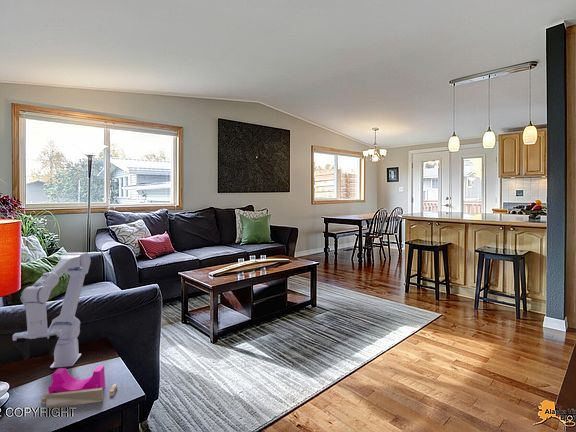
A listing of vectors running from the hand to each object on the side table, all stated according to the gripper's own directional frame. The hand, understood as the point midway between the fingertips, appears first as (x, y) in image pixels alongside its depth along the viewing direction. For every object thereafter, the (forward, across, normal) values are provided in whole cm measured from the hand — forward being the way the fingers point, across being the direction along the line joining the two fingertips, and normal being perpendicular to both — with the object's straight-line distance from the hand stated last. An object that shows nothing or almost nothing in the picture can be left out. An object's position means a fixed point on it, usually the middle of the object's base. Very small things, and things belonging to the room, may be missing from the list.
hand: (39, 357), depth 122 cm
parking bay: (+9, +16, -12) cm, 23 cm away
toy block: (+10, +15, -9) cm, 20 cm away
